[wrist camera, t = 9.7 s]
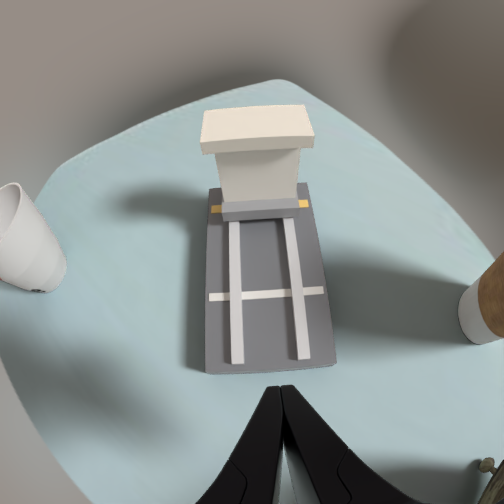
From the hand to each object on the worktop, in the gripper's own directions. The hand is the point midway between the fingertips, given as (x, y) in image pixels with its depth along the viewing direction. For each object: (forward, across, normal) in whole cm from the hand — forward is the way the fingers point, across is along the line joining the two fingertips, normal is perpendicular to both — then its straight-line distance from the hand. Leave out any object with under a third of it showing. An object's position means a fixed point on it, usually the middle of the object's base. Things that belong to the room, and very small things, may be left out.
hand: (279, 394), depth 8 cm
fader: (+17, 0, -5) cm, 18 cm away
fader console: (+15, 0, +2) cm, 15 cm away
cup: (+17, +23, +1) cm, 28 cm away
